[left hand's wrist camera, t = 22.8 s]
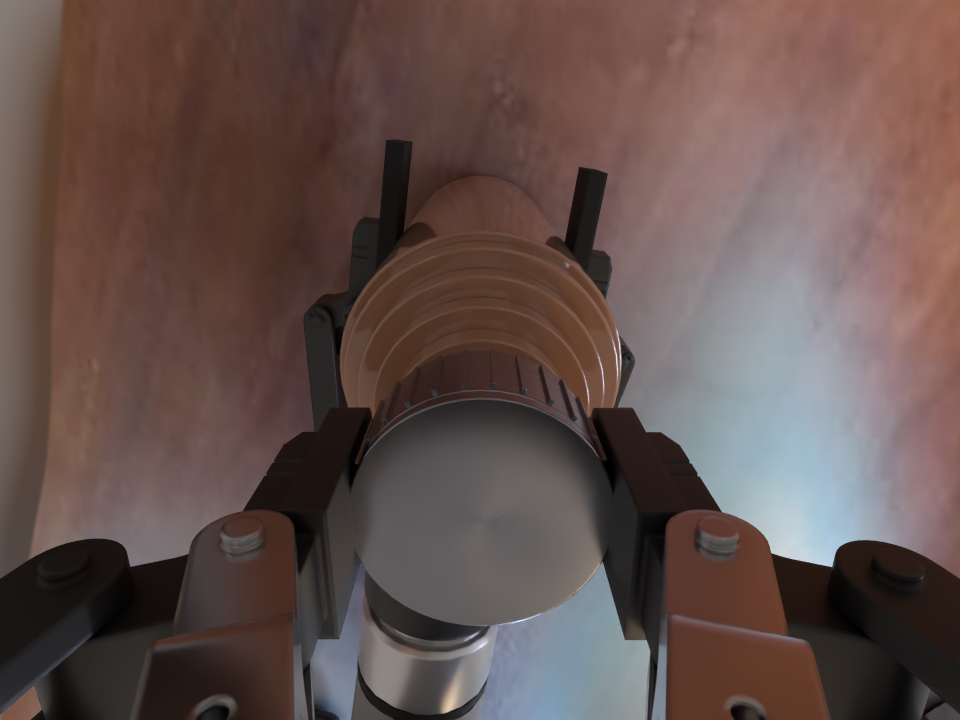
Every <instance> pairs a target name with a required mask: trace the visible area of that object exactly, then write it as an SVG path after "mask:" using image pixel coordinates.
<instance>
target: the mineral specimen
mask: <svg viewBox="0 0 960 720" xmlns="http://www.w3.org/2000/svg"><path fill="white" fill-rule="evenodd" d="M925 717H927V718H928V719H929V720H960V714H959V713H958V712H956V711H955V710H954V709H953V708H952V707H951V706H949V705H948V704H947V703H946V702H945V703H943V704H942V705H940V706H938V707H936V708H934V709H933V710H932V711H930V712H929V713H927V714H926V715H925Z"/></svg>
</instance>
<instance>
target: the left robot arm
mask: <svg viewBox="0 0 960 720" xmlns="http://www.w3.org/2000/svg"><path fill="white" fill-rule="evenodd" d="M591 418H592V421H593V424H594V426H595V429H596V431H597V434H598V437H599V439H600V442H601V444H602V447H603V450H604V452H605V455H606V457H607V460H608V463H605V465H606V468H607V471H608V473H609V476H610V479H611V483H612V486H613V501H612V512H611V523H610V535H609V546H608V551H607V553H606V555H605V557H604V559H603V564H604V567H605V571H606V574H607V578H608V581H609V585H610V588H611V592H612V595H613V599H614V603H615V606H616V610H617V613H618V617H619V620H620V624H621V627H622V631H623V634H624V638H625V640H647V642H648V645H649V648H650V651H651V652H650V660H649V668H648V677H647V696H646V714H645V720H929V719H928V718H927V717H925V716H924V715H923V711H924V708H925V705H926V702H927V699H928V696H929V693H930V690H932V691H933V692H934V693H935V694H937V695H938V696H939V697H940V698H941V699H942V700H944V701H945V702H946V703H947V704H948V705H949V706H951V707H952V708H953V709H954V710H955V711H956V712H958V713H959V714H960V579H959V578H958V577H956V576H955V575H953V574H952V573H950V572H949V571H947V570H946V569H944V568H942V567H941V566H939V565H938V564H936V563H935V562H933V561H931V560H930V559H928V558H926V557H924V556H922V555H920V554H918V553H916V552H914V551H911V550H909V549H906V548H903V547H900V546H897V545H894V544H890V543H885V542H879V541H870V540H858V541H852V542H849V543H845V544H844V545H842V546H840V547H839V549H838V550H837V552H836V554H835V558H834V562H833V566H832V567H828V566H823V565H818V564H813V563H808V562H803V561H798V560H793V559H789V558H785V557H781V556H778V555H775V554H772V553H771V551H770V546H769V544H768V541H767V540H766V538H765V537H764V535H763V534H762V533H761V532H760V531H759V530H758V529H756V528H755V527H754V526H753V525H751V524H749V523H748V522H746V521H744V520H742V519H740V518H738V517H735V516H733V515H730V514H726V513H723V512H721V510H720V508H719V507H718V505H717V504H716V502H715V500H714V499H713V497H712V496H711V494H710V492H709V491H708V489H707V488H706V486H705V485H704V483H703V481H702V480H701V478H700V477H698V476H697V472H696V470H695V469H694V467H693V465H692V464H690V463H689V459H688V458H687V456H686V454H685V453H684V451H683V450H682V448H681V446H680V445H678V444H677V443H676V442H674V441H673V440H671V439H670V438H668V437H667V436H665V435H664V434H662V433H661V432H646V431H645V429H644V428H643V426H642V424H641V422H640V420H639V418H638V417H637V415H636V413H635V411H634V409H633V408H593V410H592V414H591ZM370 420H372V421H373V419H372V412H371V409H370V408H369V407H331V408H330V410H329V411H328V413H327V415H326V417H325V419H324V421H323V423H322V425H321V426H320V428H319V430H318V432H302V433H300V434H299V435H298V436H296V437H295V438H293V439H292V440H290V441H289V442H287V443H286V444H284V445H283V447H282V449H281V450H280V452H279V453H278V455H277V457H276V458H275V460H274V463H272V465H271V466H270V468H269V470H268V471H267V475H266V476H264V478H263V479H262V481H261V482H260V484H259V486H258V487H257V489H256V490H255V492H254V494H253V495H252V497H251V499H250V500H249V502H248V503H247V505H246V507H245V508H244V510H243V511H242V512H237V513H234V514H230V515H227V516H225V517H222V518H220V519H218V520H216V521H214V522H212V523H211V524H209V525H207V526H206V527H205V528H204V529H202V530H201V531H200V532H199V533H198V534H197V535H196V536H195V538H194V540H193V541H192V544H191V546H190V551H189V554H187V555H184V556H181V557H177V558H172V559H167V560H163V561H158V562H153V563H148V564H143V565H138V566H133V567H130V564H129V559H128V555H127V552H126V549H125V548H124V547H123V545H121V544H120V543H118V542H116V541H113V540H108V539H85V540H79V541H74V542H70V543H66V544H63V545H60V546H57V547H54V548H52V549H50V550H47V551H45V552H43V553H41V554H39V555H37V556H35V557H33V558H32V559H30V560H28V561H27V562H25V563H24V564H22V565H21V566H19V567H18V568H16V569H15V570H13V571H11V572H10V573H9V574H7V575H5V576H4V577H2V578H1V579H0V714H1V713H2V712H4V711H5V710H6V709H7V708H8V707H9V706H11V705H12V704H13V703H14V702H15V701H16V700H18V699H19V698H20V697H21V696H22V695H23V694H25V693H26V692H27V691H28V690H29V689H31V688H32V687H33V686H35V689H36V692H37V695H38V698H39V701H40V704H41V707H42V710H41V711H40V712H39V713H38V714H37V715H36V716H35V717H33V718H32V719H31V720H315V715H314V696H313V677H312V668H311V658H312V655H313V652H314V649H315V645H316V642H317V639H339V638H340V634H341V630H342V627H343V623H344V619H345V616H346V612H347V609H348V605H349V601H350V598H351V594H352V590H353V587H354V583H355V579H356V576H357V572H358V569H359V565H360V559H359V557H358V555H357V553H356V551H355V541H354V529H353V517H352V506H351V493H350V486H351V483H352V479H353V476H354V473H355V470H356V468H357V467H355V465H354V463H355V460H356V457H357V454H358V452H359V449H360V446H361V444H362V441H363V438H364V436H365V433H366V430H367V428H368V425H369V422H370Z"/></svg>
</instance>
